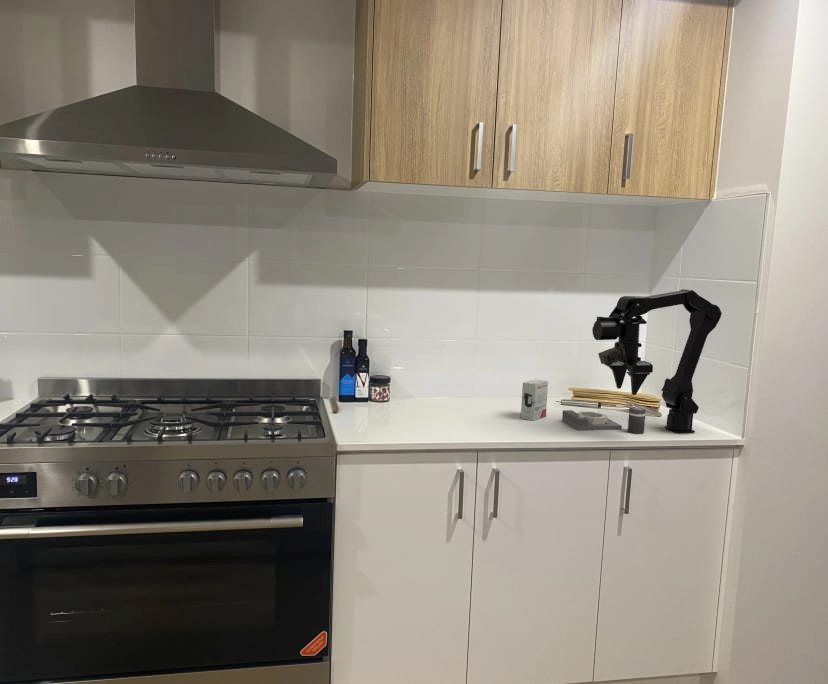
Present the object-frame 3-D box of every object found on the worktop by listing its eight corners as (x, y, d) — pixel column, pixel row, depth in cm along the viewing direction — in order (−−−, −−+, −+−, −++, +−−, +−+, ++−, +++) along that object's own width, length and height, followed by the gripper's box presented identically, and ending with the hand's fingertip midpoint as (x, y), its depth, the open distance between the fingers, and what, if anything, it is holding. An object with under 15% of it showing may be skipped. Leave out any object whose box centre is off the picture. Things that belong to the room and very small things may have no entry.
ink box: (533, 414, 218) (535, 378, 217) (546, 416, 215) (549, 380, 214) (519, 418, 212) (522, 381, 210) (533, 421, 209) (535, 384, 207)
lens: (638, 429, 202) (640, 406, 201) (646, 434, 198) (648, 410, 197) (624, 430, 202) (626, 406, 201) (632, 434, 197) (634, 410, 196)
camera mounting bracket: (603, 419, 214) (604, 408, 213) (621, 429, 202) (622, 417, 202) (562, 420, 211) (562, 408, 211) (578, 430, 199) (578, 417, 199)
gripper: (588, 335, 203) (587, 386, 205) (618, 344, 185) (615, 399, 187) (623, 335, 205) (620, 385, 207) (655, 343, 187) (652, 398, 189)
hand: (626, 391), depth 198 cm, fingers open, 9 cm apart
